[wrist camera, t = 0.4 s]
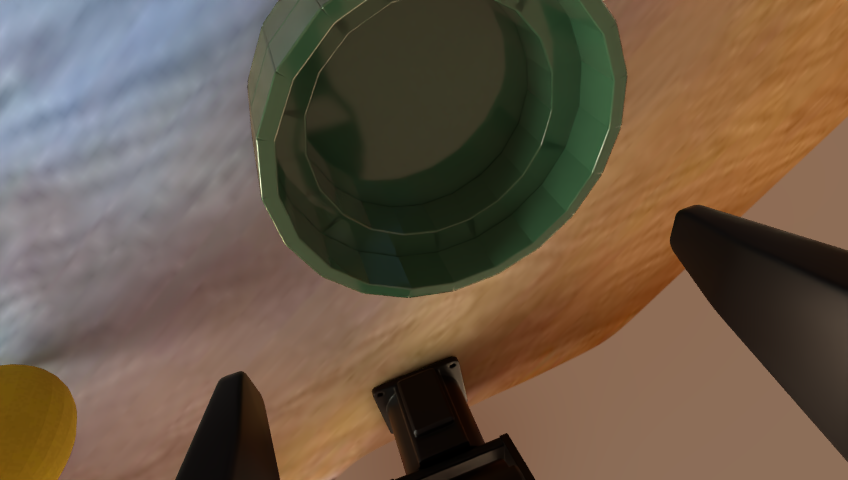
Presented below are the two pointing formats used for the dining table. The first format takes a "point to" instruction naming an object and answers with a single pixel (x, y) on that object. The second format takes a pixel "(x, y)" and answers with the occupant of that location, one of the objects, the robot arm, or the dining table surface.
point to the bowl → (430, 132)
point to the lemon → (34, 423)
